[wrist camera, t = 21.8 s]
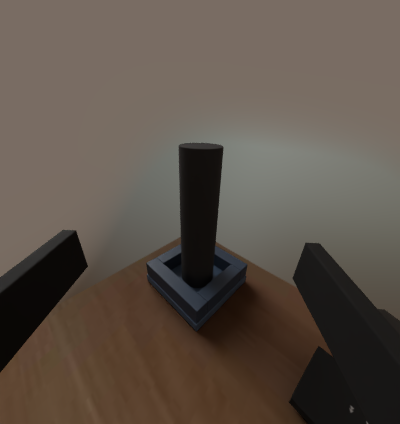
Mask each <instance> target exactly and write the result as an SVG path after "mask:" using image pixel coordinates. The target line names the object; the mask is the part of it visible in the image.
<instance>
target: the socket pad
mask: <svg viewBox="0 0 400 424" xmlns="http://www.w3.org/2000/svg"><path fill="white" fill-rule="evenodd" d="M146 264H147V271H148V275H147V279H148V281H149V282H150V283H151V284H152V285H153V286H154V287H155V288H156V289H157V290H158V291H159V293H160V294H161V295H162V296H163V297H164V298H165V299H166V300H167V301H168V302H169V303H170V304H171V305H172V306H173V307H174V308H175V309H176V311H177V312H178V313H179V314H180V315H181V316H182V317H183V318H184V319H185V320H186V321H187V322H188V323H189V324H190V325H191V326H192V327H193V328H194V330H195V331H197V330H198V329H199V328H200V327H201V326H202V325H203V324H204V323H205V322H206V321H207V320H208V319H209V318H210V317H211V316H212V315H213V314H214V313H215V312H216V311H217V310H218V309H219V308H220V307H221V306H222V305H223V304H224V303H225V302H226V301H227V300H228V299H229V297H230V296H231V295H232V294H233V293H234V292H235V291H236V290H237V289H238V288H239V287H240V286H241V285H242V284H243V283H244V282H245V280H246V276H245V275H246V269H247V264H246V263H244V262H242V261H241V260H239V259H237V258H235V257H234V256H232V255H230V254H229V253H227V252H225V251H224V250H222V249H220V248H219V247H217V246H215V255H214V267H213V278H212V281H211V282H209V283H208V284H207V285H206V286H205V287H202V288H193V287H190V286H189V285H187V284H186V283H185V282H184V281H183V279H182V262H181V244H180V245H178V246H177V247H175V248H173V249H171V250H169V251H168V252H166V253H164V254H162V255H160V256H158V257H157V258H155V259H153V260H151V261H149V262H147V263H146Z"/></svg>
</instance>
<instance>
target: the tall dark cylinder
mask: <svg viewBox="0 0 400 424" xmlns="http://www.w3.org/2000/svg"><path fill="white" fill-rule="evenodd" d="M222 157H223V146H221V145H217V144H209V143H185V144H180V145H179V178H180V220H181V262H182V279H183V281H184V282H185V283H186V284H187V285H189V286H190V287H193V288H202V287H205V286H206V285H207V284H208V283H209V282H211V281H212V278H213V267H214V255H215V243H216V230H217V218H218V206H219V193H220V182H221V169H222Z"/></svg>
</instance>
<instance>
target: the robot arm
mask: <svg viewBox="0 0 400 424" xmlns="http://www.w3.org/2000/svg"><path fill="white" fill-rule="evenodd" d="M87 267H88V265H87V262H86V259H85V256H84V253H83V250H82V247H81V244H80V242H79V238H78V235H77V232H76V231H74V230H62V231H61V232H60V233H58V234H57V235H56V236H54V237H53V238H52V239H50V240H49V241H48V242H47V243H45V244H44V245H42V246H41V247H40V248H38V249H37V250H36V251H35V252H33V253H32V254H31V255H29V256H28V257H27V258H25V259H24V260H23V261H21V262H20V263H19V264H17V265H16V266H15V267H13V268H12V269H11V270H9V271H8V272H7V273H6V274H4V275H3V276H1V277H0V372H1V371H2V370H3V369H4V367H5V366H6V365H7V364H8V362H9V361H10V360H11V359H12V358H13V356H14V355H15V354H16V353H17V352H18V350H19V349H20V348H21V347H22V346H23V344H24V343H25V342H26V341H27V339H28V338H29V337H30V336H31V335H32V333H33V332H34V331H35V330H36V329H37V327H38V326H39V325H40V324H41V323H42V321H43V320H44V319H45V318H46V316H47V315H48V314H49V313H50V312H51V310H52V309H53V308H54V307H55V306H56V304H57V303H58V302H59V301H60V299H61V298H62V297H63V296H64V295H65V293H66V292H67V291H68V290H69V289H70V287H71V286H72V285H73V284H74V283H75V281H76V280H77V279H78V278H79V277H80V275H81V274H82V273H83V272H84V270H85V269H86V268H87ZM293 280H294V282H295V284H296V285H297V288H298V290H299V292H300V293H301V295H302V297H303V299H304V301H305V303H306V305H307V307H308V309H309V311H310V313H311V315H312V317H313V318H314V320H315V322H316V324H317V326H318V328H319V330H320V332H321V334H322V336H323V338H324V340H325V342H326V343H327V345H328V347H329V349H330V351H331V353H332V355H333V357H334V359H335V361H336V363H337V365H338V366H339V368H340V370H341V372H342V374H343V376H344V378H345V380H346V382H347V384H348V386H349V388H350V390H351V391H352V393H353V395H354V397H355V399H356V401H357V403H358V405H359V407H360V409H361V411H362V413H363V415H364V416H365V418H366V420H367V422H368V424H400V321H399V320H398V319H396V318H395V317H394V316H392V315H391V314H390V313H388V312H387V311H385V310H382V309H377V308H376V307H375V306H374V305H373V304H372V302H371V301H370V300H369V299H368V298H367V297H366V296H365V294H364V293H363V292H362V291H361V290H360V289H359V288H358V287H357V285H356V284H355V283H354V282H353V281H352V280H351V279H350V277H349V276H348V275H347V274H346V273H345V272H344V271H343V270H342V268H341V267H340V266H339V265H338V264H337V263H336V262H335V260H334V259H333V258H332V257H331V256H330V255H329V254H328V253H327V252H326V251H325V249H324V248H323V247H322V246H321V245H320V244H319V243H305V246H304V249H303V251H302V254H301V257H300V260H299V262H298V265H297V268H296V270H295V274H294V276H293Z"/></svg>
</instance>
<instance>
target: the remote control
mask: <svg viewBox="0 0 400 424" xmlns="http://www.w3.org/2000/svg"><path fill="white" fill-rule="evenodd" d="M289 403H290V404H291V405H292V406H293V407H294V408H295V409H296V411H297V412H298V413H299V414H300V415H301V416H302V417H303V418H304V419H305V420H306V421H307V422H308V424H368V422H367V420H366V418H365V416H364V415H363V413H362V411H361V409H360V407H359V405H358V403H357V401H356V399H355V397H354V395H353V393H352V391H351V390H350V388H349V386H348V384H347V382H346V380H345V378H344V376H343V374H342V372H341V370H340V368H339V366H338V365H337V363H336V361H335V359H334V358H333V357H332V356H331V355H330V354H328V353H327V352H326V351H324V350H323V349H322V348H321V347H319V346H318V348H317V350H316V351H315V353H314V355H313V357H312V359H311V361H310V363H309V364H308V366H307V368H306V370H305V372H304V374H303V376H302V378H301V380H300V381H299V383H298V385H297V387H296V389H295V391H294V393H293V395H292V397H291V399H290V401H289Z"/></svg>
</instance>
